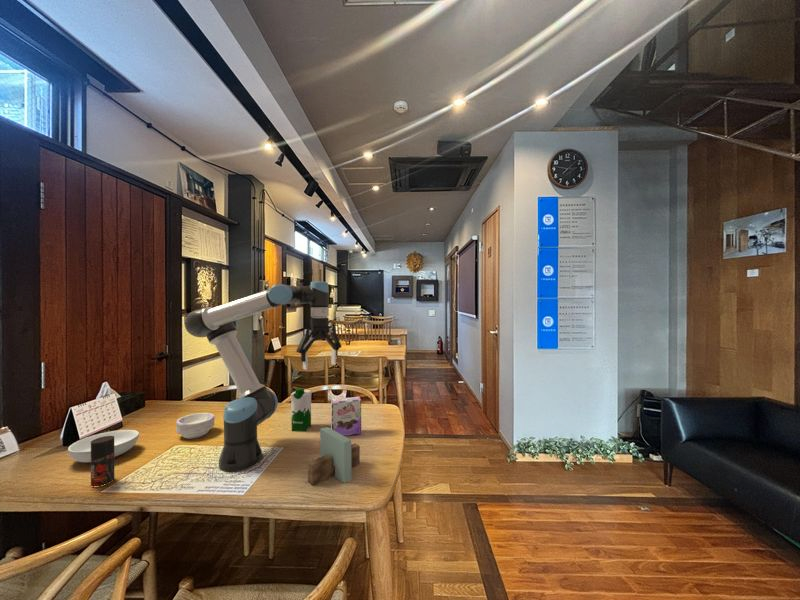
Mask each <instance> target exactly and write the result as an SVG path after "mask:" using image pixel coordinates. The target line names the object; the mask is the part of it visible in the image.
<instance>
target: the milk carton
mask: <svg viewBox="0 0 800 600" xmlns="http://www.w3.org/2000/svg"><path fill="white" fill-rule="evenodd" d="M312 393H313V392H312V390H310V389H305V388H303V387H297V388H296V389H295V391H293V392H291V394H290V401H291V402H290V403H291V404H290V405H291V409H290V410H291V415H290V416H291V417H290V418H291V431H292V432H307V430H308V429H309V428H310V427H311V426H312Z"/></svg>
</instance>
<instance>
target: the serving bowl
mask: <svg viewBox="0 0 800 600" xmlns="http://www.w3.org/2000/svg"><path fill="white" fill-rule="evenodd" d="M104 436H114V458H116V457H118V456H120V455H123V454H124V453H127V452H128V451H129V450H131V449H132V448H133V447H134V446H135V445H136V443H137V442H138V439H139V436H140V432H139V431H138V430H135V429H119V430H118V429H117V430H112V431H107V432H106V431H105V432H102V433H97V434H93V435H90V436H87V437H84V438H82V439H79V440H77V441H76V442H73V443H72V444H70V445H69V446H68V449H67V452H68V454H69V457H70V458H71V459H72V460H73V461H75V462H78V463H91V441H92V440H94V439H97V438H100V437H104Z"/></svg>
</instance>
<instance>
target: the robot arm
mask: <svg viewBox="0 0 800 600" xmlns="http://www.w3.org/2000/svg"><path fill="white" fill-rule="evenodd" d="M329 290H330V289H329V283H328V282H327V281H323V280H322V281H321V280H320V281H317V280H316V281H314V280H313V281H311V282H310V284H309V285H305V286H303V285H302V286H301V285H300V286H299V285H291V284H290V285H289V284H282V283H279V284H274V285H272V286H271V287H270V288H268V289H265V290H262V291H259V292H256V293H253V294H251V295H250V294H249V295H247V296H245V297H242V298H238V299H235V300H232V301H229V302H227V303H223V304H220V305H217V306H214V307H212V306H206V307H203V308H200V309H196V310H193V311H191V312H189V314H187V316H186V317H185V320H184V328H185V330H186V332H187V333H188V334H189V335H190V336H192V337H197V338H206V339H207V340H208V342H209V345H210V344H211V345H213V346H215V347H216V350H217V351H218V353H219V355H220V357H221V360H222V361H223V364H224V365H225V367H226V369H227V371H228V373H229V374H230V377H231V379H232V381H233V383H234V385H235V387H236V389H237V392H238V393H239V395H238V399H233V400H231V401H230V402H228V403H227V404H226V405H225V407H224V410H223V418H222V419H223V447H222V449H221V453H220V456H219V458H218V468H219V469H220V471H224V472H230V473H231V472H232V473H233V472H238V471H239V472H240V471H245V470H247V469H249V468H251V467H254V466H256V465H258V464H259V463H260V462H261V460H262V458H263V450H262V448H261V445H260V442H259V439H258V426H259V425H261V424H262V423H264V422H265V421H266V420H267V419H270V417H272V415H273V414H274V413H275V412H276V411H277V409H278V406H279V405H278V404H279V401H278V396H277V394H275V392H273V391H271V390H270V389H269V390H268V388H267V386H266V385H265V384H262V383H260V381H259V380H258V377H257V376H256V375H257V374H256V373H255V372H254V369H253V367H252V366H251V363H250V362H249V359H248V357H247V355H246V353H245V352H244V350H243V348H242V345H241V344H240V342H239V340H238V339H237V335H238V330H237V324H238V320H241V319H245V318H246V317H250V316H253V315H257V314H259V313H262V312H265V311H268V310H270V309H271V310H272V309H273V308H277V307H280V306H284V305H296V304H297V305H302V304H307V305H309V304H310V317H311V318H310V329H306V328H305V329H304V330H303V335H302V337H301V339H300V342H299V344H298V347H297V348H296V353H298V354H300V359H301V360H300V361H301V362H302V370H304V371H305V370H306V371H307V370H309V368H308V367H309V361H308V359H309V354H308V353H307V352H308V351H309V350H310V348H311V347H312V345H313V344H314V343H315V341H316V340H325V341H326V342H327V343H328V345H330V347H331V348H332V349H330V351H331V352H330V353H331V356H330V357H331V358H330V359H331V363H330V364H331V365H333V366H336V365H337V357H338V354H339V353H338V351H339V350H340V348H342V344H341V342H340V340H339V339H340V338H339V337H338V334H337V333H336V327H329V325H330V319H329V316H330V315H329V314H330V313H329V312H330V310H329V307H330V306H329V305H330V303H329V301H330V299H329V298H330V291H329ZM329 333H330V335H329ZM310 335H311V336H310ZM309 336H310V337H309Z"/></svg>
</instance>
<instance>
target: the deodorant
mask: <svg viewBox="0 0 800 600" xmlns="http://www.w3.org/2000/svg"><path fill="white" fill-rule="evenodd" d="M112 480H114V481H115V457H114V436H104V437H100V438H97V439H94V440H92V441H91V462H90V487H91V486H93V487H94V486H101V485H104V484H107V483H109V482H111V481H112ZM111 483H112V482H111ZM107 485H108V484H107ZM93 487H92V488H93Z"/></svg>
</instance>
